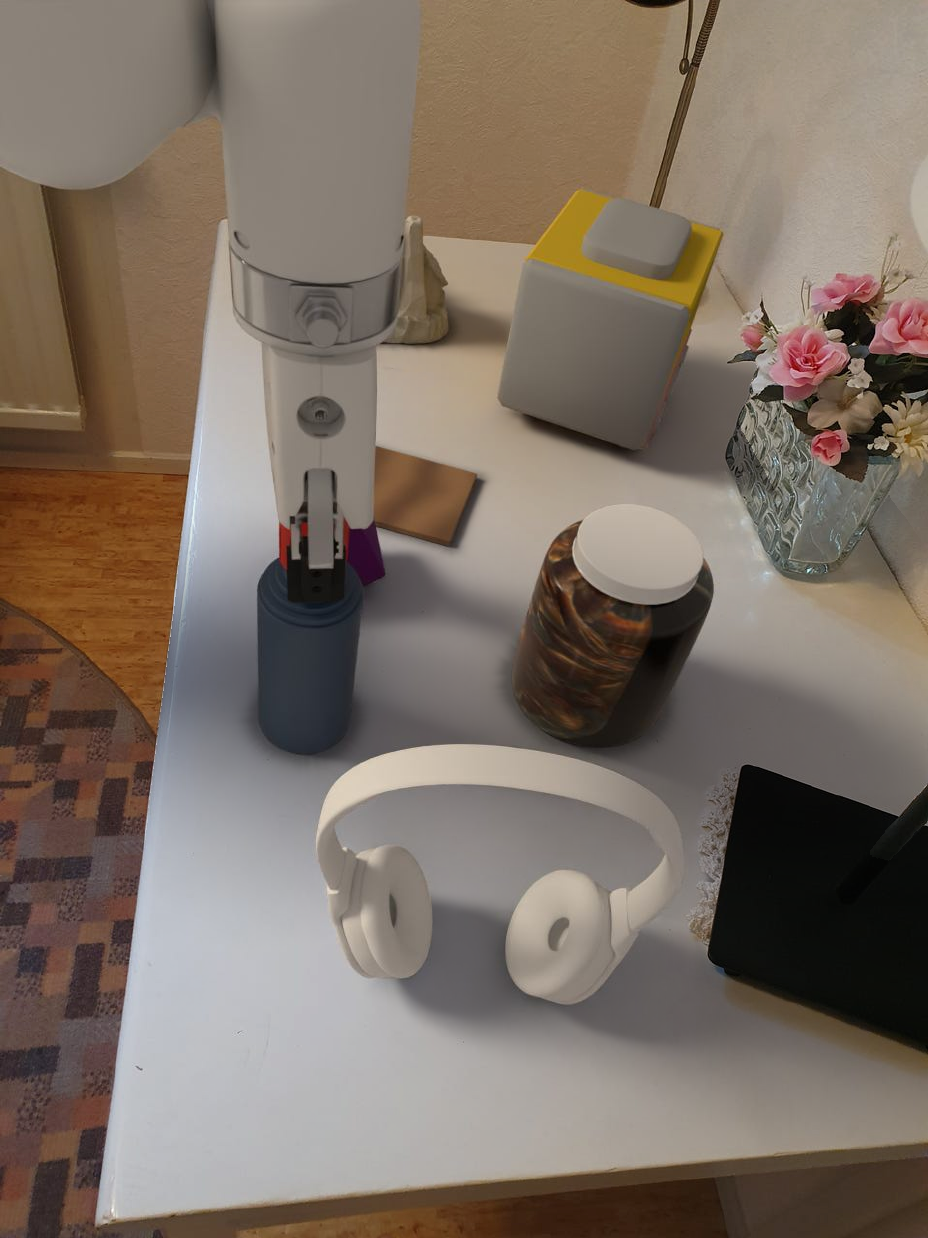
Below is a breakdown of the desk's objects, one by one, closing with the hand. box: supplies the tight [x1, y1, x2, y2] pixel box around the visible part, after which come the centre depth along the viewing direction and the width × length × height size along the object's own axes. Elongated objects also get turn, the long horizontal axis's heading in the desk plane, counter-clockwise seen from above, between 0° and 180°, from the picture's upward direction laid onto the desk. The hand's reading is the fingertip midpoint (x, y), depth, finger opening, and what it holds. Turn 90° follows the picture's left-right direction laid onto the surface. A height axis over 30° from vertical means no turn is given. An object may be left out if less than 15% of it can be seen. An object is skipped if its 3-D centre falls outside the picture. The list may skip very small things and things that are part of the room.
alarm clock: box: [496, 187, 724, 451], centre depth 91 cm, size 20×16×18 cm
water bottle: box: [256, 557, 365, 755], centre depth 59 cm, size 6×6×18 cm
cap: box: [278, 517, 350, 570], centre depth 53 cm, size 4×4×3 cm
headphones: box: [315, 743, 685, 1005], centre depth 48 cm, size 7×18×20 cm, turn 85°
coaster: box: [373, 445, 478, 547], centre depth 83 cm, size 10×10×1 cm
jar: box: [511, 503, 715, 748], centre depth 66 cm, size 12×12×15 cm
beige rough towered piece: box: [382, 215, 450, 345], centre depth 100 cm, size 16×16×15 cm
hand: (313, 569), depth 55 cm, fingers closed on cap, 3 cm apart
